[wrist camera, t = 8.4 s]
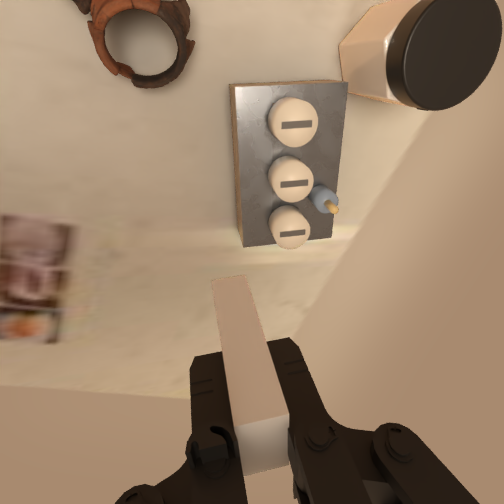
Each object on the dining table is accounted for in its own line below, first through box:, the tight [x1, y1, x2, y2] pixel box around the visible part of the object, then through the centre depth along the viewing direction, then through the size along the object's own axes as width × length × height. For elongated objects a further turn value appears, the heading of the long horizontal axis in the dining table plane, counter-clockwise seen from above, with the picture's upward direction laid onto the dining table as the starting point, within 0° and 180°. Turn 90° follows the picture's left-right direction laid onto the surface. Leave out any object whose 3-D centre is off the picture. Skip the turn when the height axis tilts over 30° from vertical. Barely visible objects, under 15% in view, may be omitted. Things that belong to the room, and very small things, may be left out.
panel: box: [229, 80, 348, 247], centre depth 36 cm, size 11×17×5 cm, turn 2°
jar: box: [339, 0, 502, 111], centre depth 29 cm, size 9×8×12 cm
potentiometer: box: [309, 185, 339, 214], centre depth 34 cm, size 2×2×4 cm
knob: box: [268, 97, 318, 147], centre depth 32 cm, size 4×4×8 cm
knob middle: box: [268, 156, 314, 202], centre depth 35 cm, size 4×4×8 cm
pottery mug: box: [73, 0, 195, 88], centre depth 27 cm, size 12×10×8 cm
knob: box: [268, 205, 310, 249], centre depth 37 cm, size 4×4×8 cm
